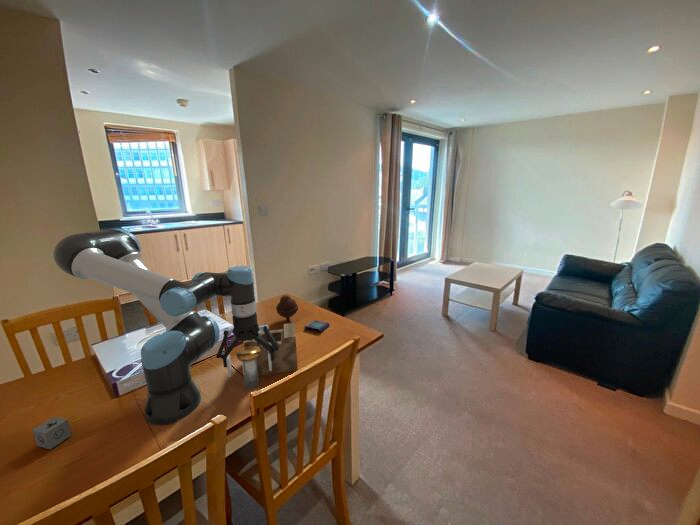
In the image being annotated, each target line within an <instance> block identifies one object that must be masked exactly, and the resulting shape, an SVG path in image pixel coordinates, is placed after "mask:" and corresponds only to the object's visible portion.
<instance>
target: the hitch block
mask: <svg viewBox="0 0 700 525" xmlns="http://www.w3.org/2000/svg"><path fill="white" fill-rule="evenodd" d="M269 331H270V333H271V334H272V336H273V337H274V339H275V340H276V342H277V343H278V345H279V350H278V351H274V361H271V363H272V371H269V362H268V350H267V349H265V348H264V347H263V346H262V345H261V344H260V343H259V342H257V341H255V340H254V339H252V340H246V341H243V345H244V346H243V347H246V346H258V347H259V348H260V350H261V354H260V356H259V357H257V366H258V376H264V375H271V374H278V373H285V372H287V373H288V372H293V371H298V370H299V369H298V368H299V366H298V354H297V337H296V326H295V322H290V323H284V324H283V329H282V328H281V329H271V330H269ZM260 336H261V337H263V338H264V339H265V340H266V341H267V342H268V343H269V344H270V345H272V344H271V343H270V341H269V340H268V338H267V337H266V335H265V333H263V334H260Z"/></svg>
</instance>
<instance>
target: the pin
mask: <svg viewBox="0 0 700 525" xmlns="http://www.w3.org/2000/svg"><path fill="white" fill-rule="evenodd" d="M235 354H236V355H235V356H236V360H238V361H240V362H241V364H242V374H243V383H244V388H245V389H247V390H252V389H253V390H254V389H256V388H257V387H259V386H260V378H259V376H260V375H258V366H257V357H259V356H260V354H261V350H260V348H259V347H258V346H246V347H244V346H243V347H241V348H239V349H238V350H237V351H236V353H235Z"/></svg>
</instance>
